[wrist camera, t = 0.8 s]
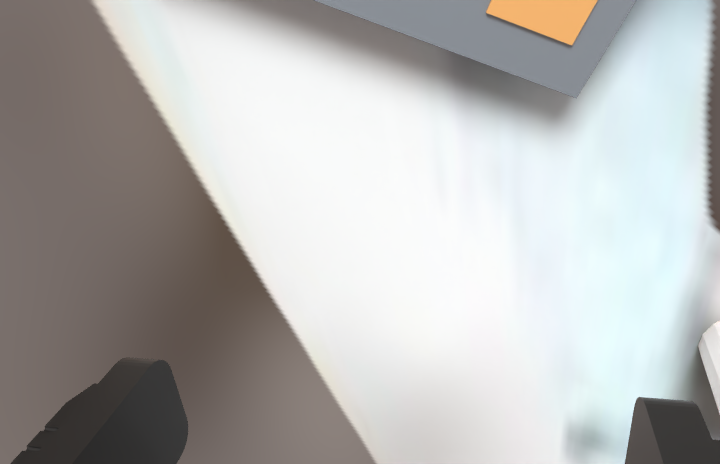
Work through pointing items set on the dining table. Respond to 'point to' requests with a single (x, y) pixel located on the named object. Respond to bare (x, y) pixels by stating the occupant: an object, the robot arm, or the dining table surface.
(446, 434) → the dining table surface
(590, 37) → the button board
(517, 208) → the dining table surface
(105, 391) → the robot arm
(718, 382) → the white cup
